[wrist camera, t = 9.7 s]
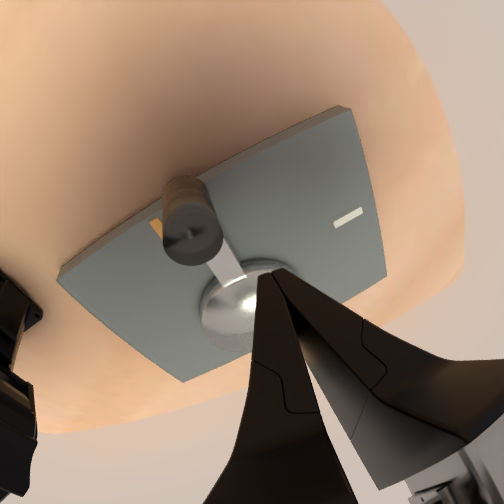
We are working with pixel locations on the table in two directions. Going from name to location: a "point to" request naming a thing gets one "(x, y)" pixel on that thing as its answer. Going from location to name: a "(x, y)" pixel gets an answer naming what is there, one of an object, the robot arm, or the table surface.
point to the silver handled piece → (213, 263)
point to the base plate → (240, 241)
